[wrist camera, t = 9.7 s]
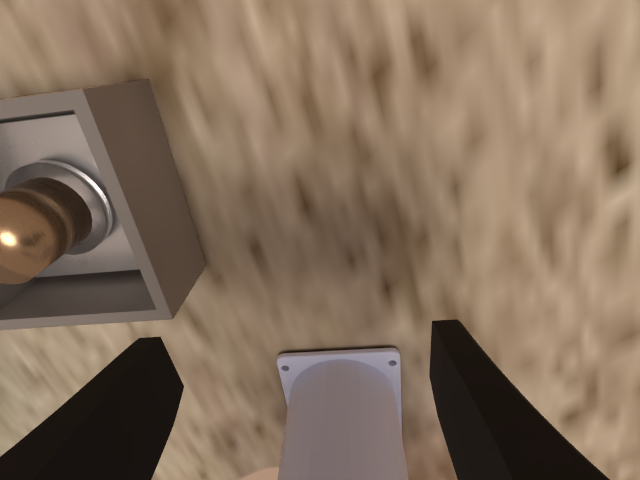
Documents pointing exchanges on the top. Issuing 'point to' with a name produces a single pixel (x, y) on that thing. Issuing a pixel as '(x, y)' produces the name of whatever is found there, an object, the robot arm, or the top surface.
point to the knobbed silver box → (132, 210)
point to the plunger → (55, 204)
